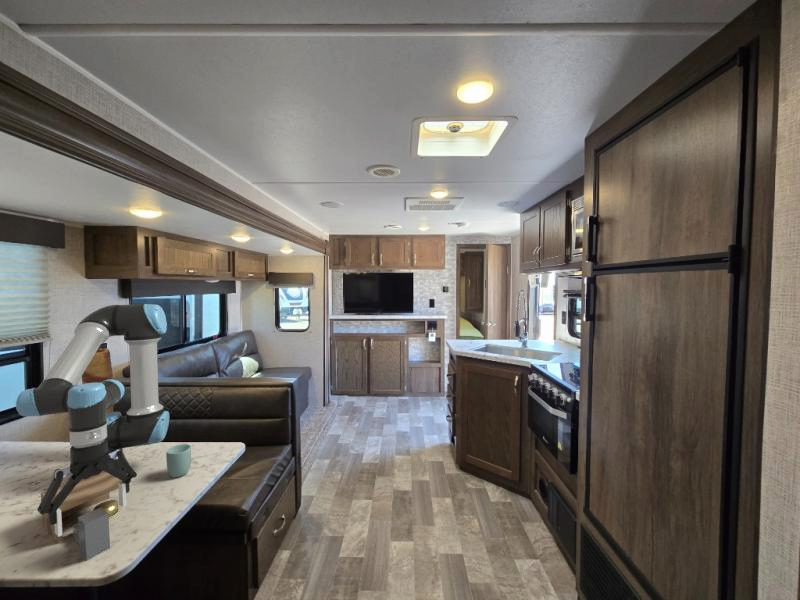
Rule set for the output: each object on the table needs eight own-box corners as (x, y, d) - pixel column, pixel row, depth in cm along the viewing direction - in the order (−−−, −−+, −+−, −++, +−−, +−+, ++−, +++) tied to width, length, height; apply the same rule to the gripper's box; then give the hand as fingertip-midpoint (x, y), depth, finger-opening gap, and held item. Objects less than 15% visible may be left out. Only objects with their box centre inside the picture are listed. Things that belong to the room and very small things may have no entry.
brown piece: (42, 525, 105) (40, 493, 104) (108, 496, 119) (106, 468, 118) (58, 543, 98) (56, 509, 97) (126, 511, 111) (124, 481, 111)
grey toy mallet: (67, 538, 100) (65, 504, 99) (89, 527, 104) (87, 495, 103) (86, 560, 92) (84, 524, 91) (110, 548, 96) (108, 513, 95)
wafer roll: (118, 446, 154) (113, 346, 151) (114, 457, 145) (108, 350, 142) (88, 452, 149) (82, 349, 146) (80, 463, 140) (74, 353, 137)
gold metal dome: (90, 517, 109) (89, 508, 108) (113, 506, 114) (113, 497, 114) (97, 524, 106) (97, 514, 105) (121, 513, 111) (121, 503, 110)
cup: (174, 469, 136) (173, 444, 135) (195, 468, 137) (194, 443, 136) (162, 480, 128) (161, 454, 128) (184, 479, 129) (183, 453, 128)
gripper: (26, 466, 81) (31, 554, 82) (148, 428, 102) (151, 498, 103) (17, 458, 85) (22, 542, 86) (137, 423, 106) (139, 491, 107)
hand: (92, 518), depth 94 cm, fingers open, 13 cm apart
